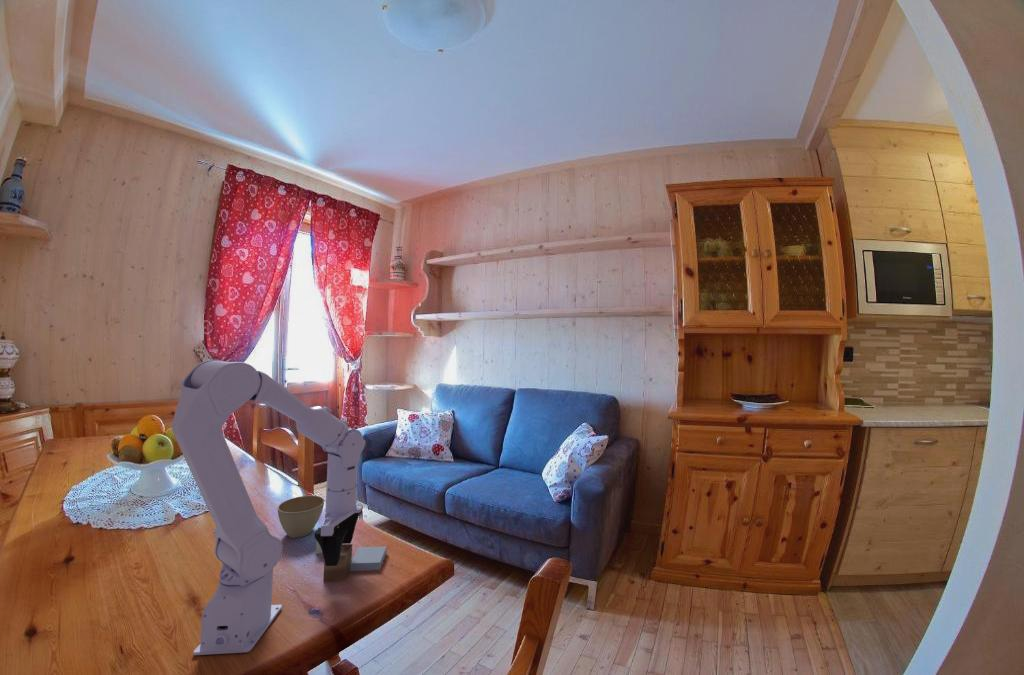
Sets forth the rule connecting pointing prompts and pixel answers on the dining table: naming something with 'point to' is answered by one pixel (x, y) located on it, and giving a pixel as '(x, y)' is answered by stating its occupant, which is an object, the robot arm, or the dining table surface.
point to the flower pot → (300, 515)
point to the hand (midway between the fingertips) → (339, 553)
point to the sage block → (318, 548)
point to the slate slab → (368, 558)
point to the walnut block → (339, 565)
